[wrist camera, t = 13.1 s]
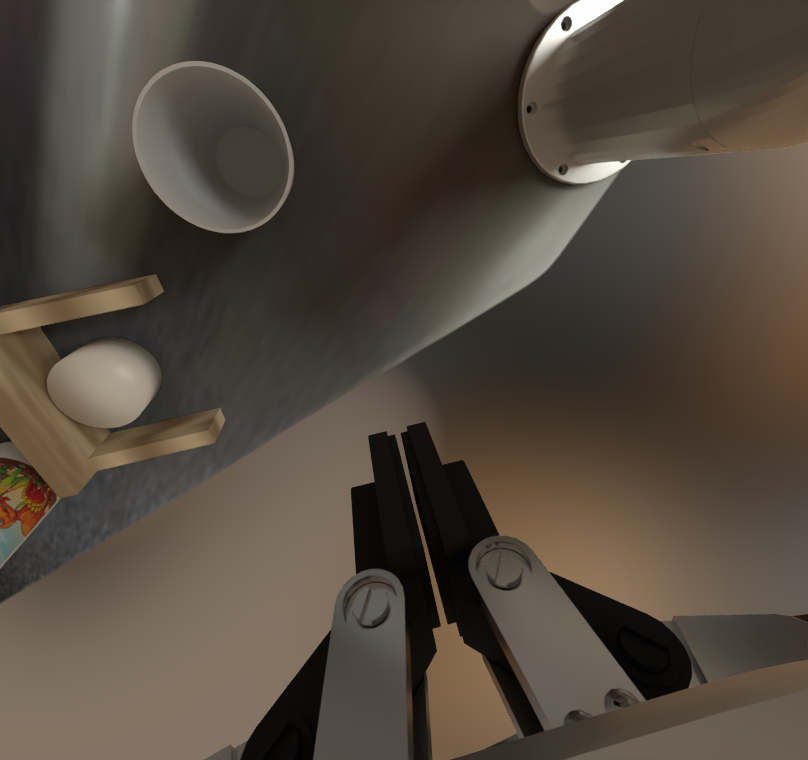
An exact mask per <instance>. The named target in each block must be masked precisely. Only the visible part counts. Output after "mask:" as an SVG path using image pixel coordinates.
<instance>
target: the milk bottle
mask: <svg viewBox="0 0 808 760" xmlns="http://www.w3.org/2000/svg"><path fill="white" fill-rule="evenodd" d="M59 500H60V499H59V497H58V496H57V495H56V494H55V492H54V491H53V490H52V489H51V488H50V486H49V485H48V484H47V483H46V482H45V480H44V479H43V478H42V477H41V476H40V474H39V473H38V472H37V471H36V469H35V468H34V467H33V466H32V465H31V463H30V462H29V461H28V460H27V459H26V457H25V456H24V455H23V454H22V453H21V451H20V450H19V449H18V448H17V447H16V445H15V444H14V443H13V442H12V441H11V442H4V443H0V568H1V567H2V566H3V565H4V564H5V563H6V562H7V560H8V559H9V558H10V557H11V556H12V555H13V554H14V552H15V551H16V550H17V549H18V548H19V547H20V546H21V544H22V543H23V542H24V541H25V540H26V539H27V538H28V536H29V535H30V534H31V533H32V532H33V531H34V529H35V528H36V527H37V526H38V525H39V524H40V522H41V521H42V520H43V519H44V518H45V517H46V516H47V514H48V513H49V512H50V511H51V510H52V509H53V507H54V506H55V505H56V504H57V503H58V502H59Z"/></svg>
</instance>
